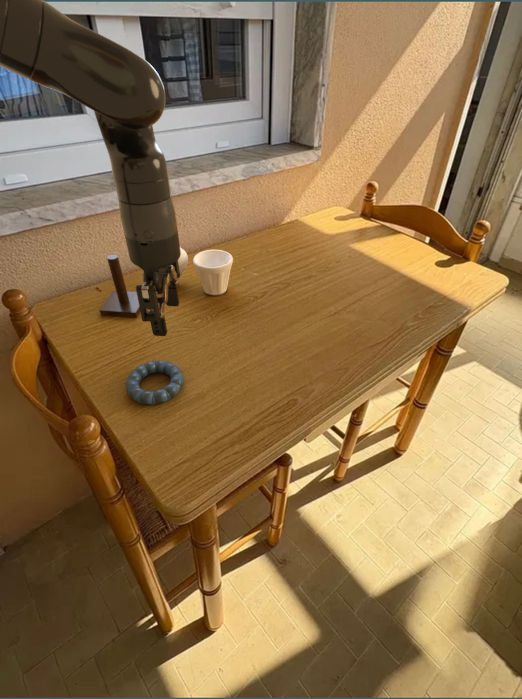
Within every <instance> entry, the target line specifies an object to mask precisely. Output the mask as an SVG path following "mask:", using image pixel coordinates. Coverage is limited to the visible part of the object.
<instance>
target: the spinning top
mask: <svg viewBox="0 0 522 699" xmlns="http://www.w3.org/2000/svg"><path fill="white" fill-rule="evenodd" d="M180 251H181V255H180V258H179V259H178V265H179V271H180V277H179V278H177V280H178V281H179V280H180V279H181V278H182V276H183V274H184V273H185V272H186V270H187V267H188V265H189V264H188V263H189V257H188V253H187V252H186V251H185V249H183V248H182V247H181V246H180Z"/></svg>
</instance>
